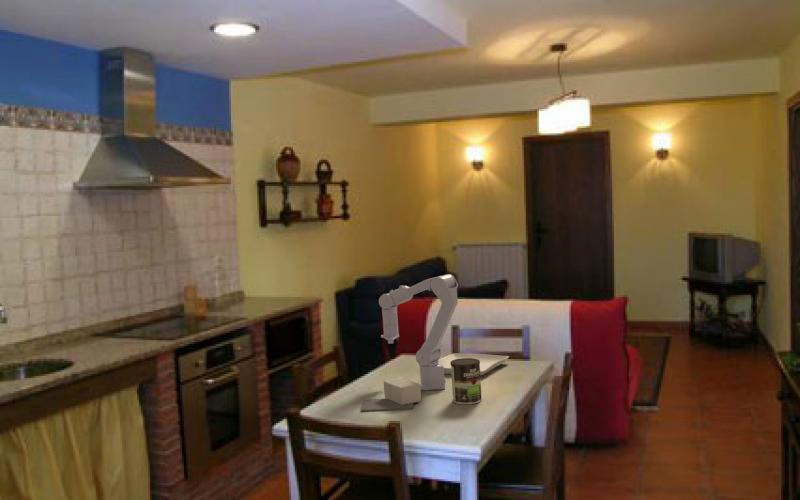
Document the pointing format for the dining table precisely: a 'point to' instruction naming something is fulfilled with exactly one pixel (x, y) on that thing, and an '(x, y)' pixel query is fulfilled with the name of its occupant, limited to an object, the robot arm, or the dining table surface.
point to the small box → (402, 391)
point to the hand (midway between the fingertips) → (392, 358)
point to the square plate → (485, 360)
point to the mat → (383, 405)
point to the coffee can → (466, 381)
